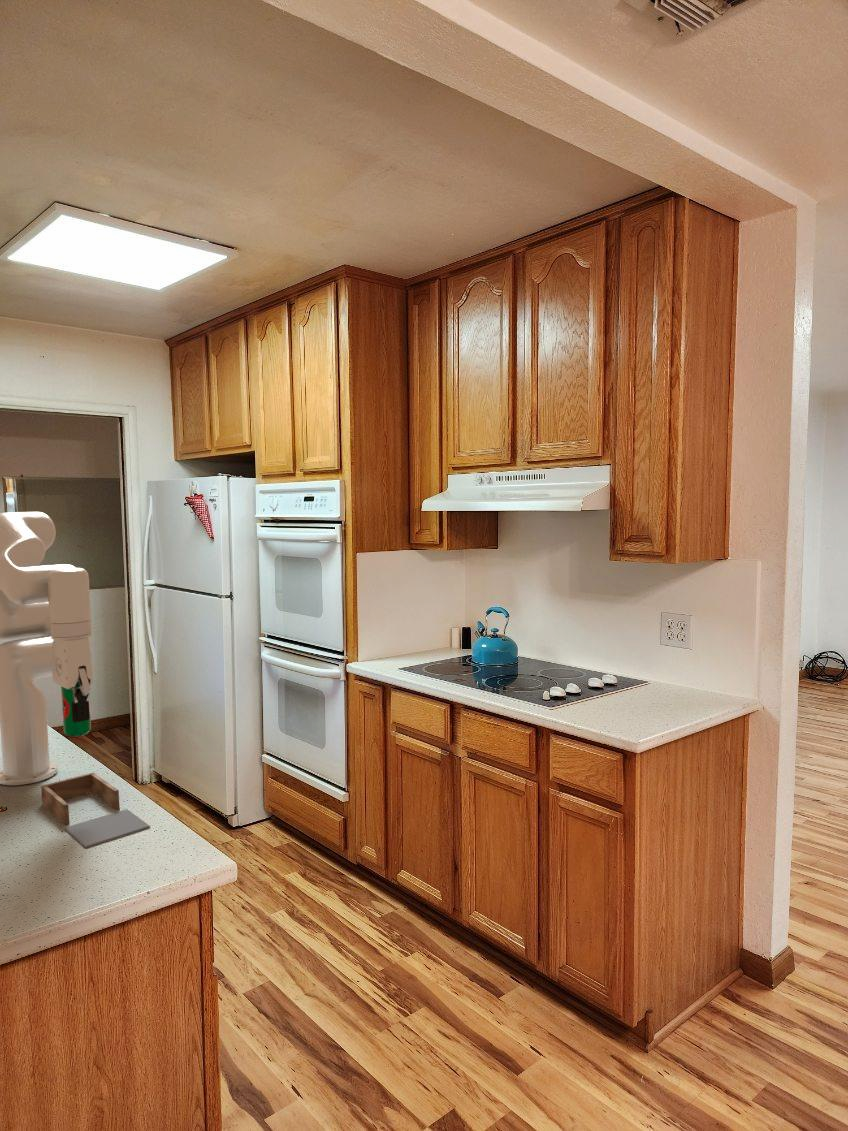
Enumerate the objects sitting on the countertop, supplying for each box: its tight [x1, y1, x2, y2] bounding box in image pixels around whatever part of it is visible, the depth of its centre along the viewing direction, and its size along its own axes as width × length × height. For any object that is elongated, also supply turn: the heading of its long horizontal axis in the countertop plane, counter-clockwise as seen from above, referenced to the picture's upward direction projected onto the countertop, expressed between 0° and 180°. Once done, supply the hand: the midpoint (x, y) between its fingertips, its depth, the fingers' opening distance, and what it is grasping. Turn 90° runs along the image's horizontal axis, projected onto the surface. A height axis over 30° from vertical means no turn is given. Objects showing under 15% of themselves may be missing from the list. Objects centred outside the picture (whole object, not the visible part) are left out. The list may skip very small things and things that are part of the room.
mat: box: [64, 808, 151, 849], centre depth 146 cm, size 11×12×1 cm
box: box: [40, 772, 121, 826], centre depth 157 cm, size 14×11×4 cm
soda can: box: [60, 683, 92, 737], centre depth 154 cm, size 5×5×12 cm
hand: (76, 717), depth 155 cm, fingers closed on soda can, 4 cm apart
